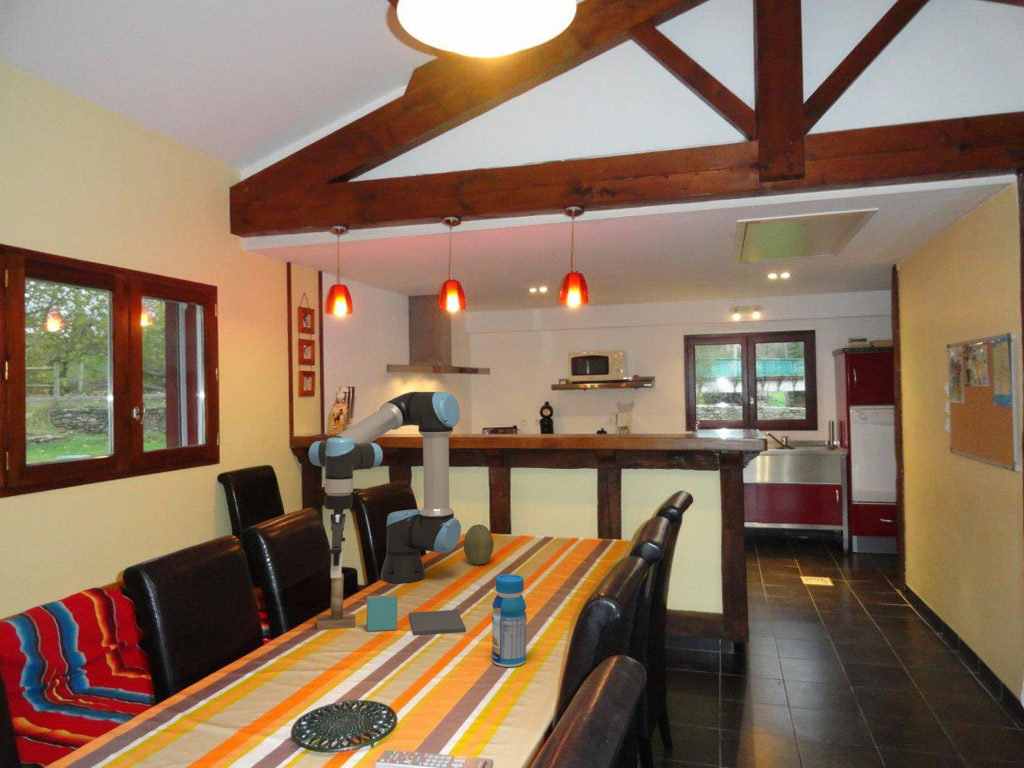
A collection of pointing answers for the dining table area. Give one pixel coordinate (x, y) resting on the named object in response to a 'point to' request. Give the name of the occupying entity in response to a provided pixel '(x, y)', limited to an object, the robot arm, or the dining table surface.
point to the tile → (381, 613)
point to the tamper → (336, 610)
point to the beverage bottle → (509, 622)
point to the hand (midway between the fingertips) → (336, 571)
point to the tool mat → (436, 622)
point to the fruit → (478, 544)
